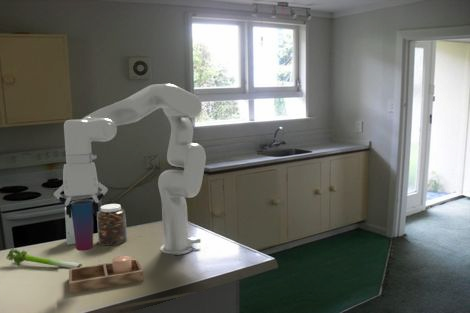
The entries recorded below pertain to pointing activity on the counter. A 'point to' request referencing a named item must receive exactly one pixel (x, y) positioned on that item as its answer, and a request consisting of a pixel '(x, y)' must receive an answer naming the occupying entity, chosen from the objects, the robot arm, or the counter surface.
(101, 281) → the caddy
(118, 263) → the peach capsule shape
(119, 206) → the jar
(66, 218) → the skincare box
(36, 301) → the counter surface
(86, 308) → the counter surface
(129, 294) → the counter surface
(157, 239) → the counter surface
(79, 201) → the cup
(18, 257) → the leek
